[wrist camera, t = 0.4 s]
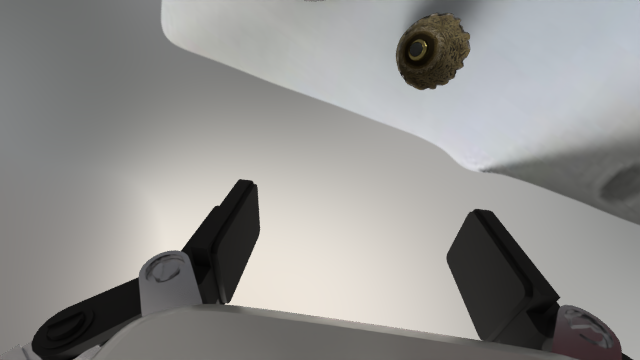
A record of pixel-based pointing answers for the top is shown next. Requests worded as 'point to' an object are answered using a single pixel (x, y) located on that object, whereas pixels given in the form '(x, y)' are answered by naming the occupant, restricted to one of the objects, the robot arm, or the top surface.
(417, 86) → the cup
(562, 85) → the top surface
